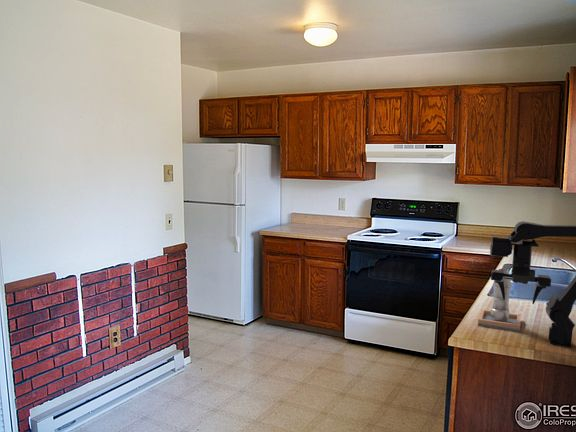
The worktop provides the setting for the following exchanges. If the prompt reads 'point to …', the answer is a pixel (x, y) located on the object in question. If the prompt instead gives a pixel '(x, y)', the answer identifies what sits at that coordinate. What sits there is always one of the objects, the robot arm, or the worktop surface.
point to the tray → (510, 324)
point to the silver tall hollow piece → (501, 300)
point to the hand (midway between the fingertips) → (518, 301)
